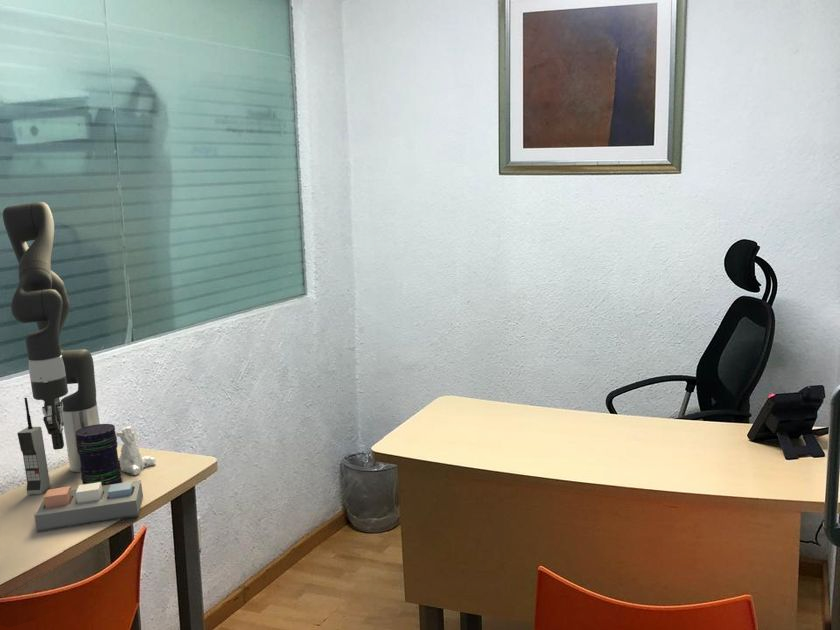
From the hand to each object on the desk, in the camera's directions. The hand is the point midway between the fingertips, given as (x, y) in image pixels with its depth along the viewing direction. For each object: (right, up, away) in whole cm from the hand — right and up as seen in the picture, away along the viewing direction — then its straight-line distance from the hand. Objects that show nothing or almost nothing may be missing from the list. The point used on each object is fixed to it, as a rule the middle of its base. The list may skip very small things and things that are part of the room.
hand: (58, 448), depth 197 cm
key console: (+6, -16, +4) cm, 18 cm away
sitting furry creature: (+6, -11, +33) cm, 36 cm away
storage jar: (+2, -13, +23) cm, 27 cm away
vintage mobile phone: (-14, -15, +22) cm, 30 cm away
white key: (+6, -13, +3) cm, 15 cm away
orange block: (-1, -14, +2) cm, 14 cm away
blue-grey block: (+13, -13, +5) cm, 19 cm away
